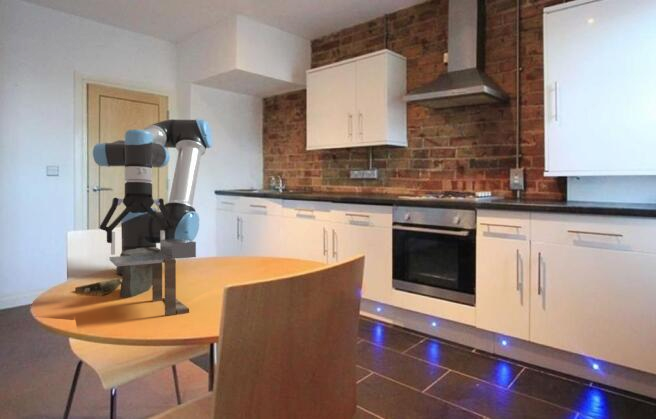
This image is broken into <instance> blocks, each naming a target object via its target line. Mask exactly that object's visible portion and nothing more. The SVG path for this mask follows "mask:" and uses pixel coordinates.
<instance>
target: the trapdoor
mask: <svg viewBox="0 0 656 419" xmlns="http://www.w3.org/2000/svg"><path fill="white" fill-rule="evenodd" d="M159 244H160V245H159V246H160V247H159V249H160V252H156V254H149V255H133V256H120V255H119V256H109V261H110V262H111V263H112V264H113V265H114V266H115V267H117V266H127V265H140V264H153V263H162V264H165V259H186V258H187V259H189V258H197V242H196V241H194V240H193V241H190V240H186V239H162V240H160V243H159Z"/></svg>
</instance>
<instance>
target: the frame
mask: <svg viewBox="0 0 656 419" xmlns="http://www.w3.org/2000/svg"><path fill="white" fill-rule="evenodd" d="M155 254H156V253H155ZM176 263H177V262H176V259H165V263H164V297H163V263H153V264H152V286H151V288H152V302H153V303H154V302H161V301H163V302H164V316H165V317H169V316H176V315H183V314H189V313H190V308H189V307H188V306H186V305H185V304H183V302H181V301H180V300H179V299H177V291H176V290H177V289H176V288H177V284H176V282H177V281H176V280H177V279H176V278H177V277H176V276H177V275H176V268H177V267H176V265H177V264H176Z"/></svg>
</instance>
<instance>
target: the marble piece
mask: <svg viewBox="0 0 656 419" xmlns="http://www.w3.org/2000/svg"><path fill="white" fill-rule="evenodd" d="M156 252H160V247H157V246H156V247H149V248H145V247H143V248H137V249H131V250H126V251H124V252H122V251H121V253H120V255H119V256H133V255H149V254H155V253H156ZM122 269H123V273H122V274H121V275H122V276H121V279H122V280H121V284H120V291H119V297H121V298H124V299H129V298H133V297H136V296H138V295H141V294H143V293H146V292H148V291H150V290H151V288H152V264H140V265H127V266H122Z"/></svg>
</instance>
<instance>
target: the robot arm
mask: <svg viewBox="0 0 656 419" xmlns="http://www.w3.org/2000/svg"><path fill="white" fill-rule="evenodd" d="M212 136H213V135H212V131H211V126H210V124H209V122H208V121H207V120H205V119H198V118H196V119H166V120H162V121H158V122H155V123H152V124H150V125H147V126H146V127H145V128H143V129H137V128H136V129H128V130H126V131H125V134H124V138H122V139H119V140H116V141H112V142H103V143H102V142H100V143H96V144H95V145H94V147H93V149H92V157H93V161H94V162H95V163H96V165H98V166H100V167H107V168H109V167H124V181H126V182H125V183H124V197H123V198H118V197H113V198H112V201H111V202H112V203H111V206H110V208H109V209H108V211H107V213H106V215H105V217H104V219H103V220H102V222H101V223H100V225H99V229H100V230H101V231H105V232H106V243H108V244H110V254H111V256H113V255H116V232H115V231H113V230H114V229H115V228H116V227H117V226H118V225H119V224H120V226H121V230H120V231H121V253H122V252H124V251H126V250H131V249H137V248H143V247H145V248H149V247H157V244H160V240H162V239H186V240H190V241H194V240H195V239H196V237H197V236H198V232H199V230H200V216H199V213H198V212H196V208H195V207H194V206H193V203H194V197H195V192H196V185H197V181H198V174H199V167H200V163H201V162H200V161H201V157H202V156H204V155H205V154H206V149H210V148H212V145H213V137H212ZM168 148H170V149H176V151H177V152H178V153H177V158H176V163H175V168H174V172H173V178H172V184H171V188H170V194H169V197H168V198H169V199H168V202H166V203H165V200H164V199H163V198H162V197H161V198H158V199H157V198H156V199H154V198H153V184H152V183H151V182H152V181H153V168H163V167H166V166H167V165H168V163H169V161H170V159H171V154H170V152H169V150H168ZM121 204H123V205H124V206H125V209H124V210H122V212H121V213H120V214H118V216H117V217H116V218H115V219H114V220H113V221H112V222H111V224H110V225H108V224H109V222H110V220H111V218H112V217H113V215H114V214H115V212H116V210H117V208H118V206H120V205H121ZM154 204H155V205H156V206H157V207H158V209H159V211H157V209H156V207H153V205H154ZM107 225H108V226H107ZM122 273H123V269H122V266H116V274H117V275H122Z"/></svg>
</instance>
